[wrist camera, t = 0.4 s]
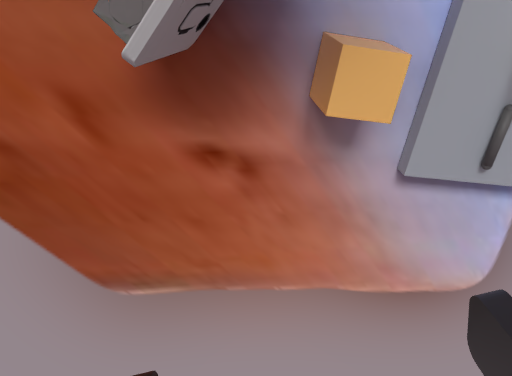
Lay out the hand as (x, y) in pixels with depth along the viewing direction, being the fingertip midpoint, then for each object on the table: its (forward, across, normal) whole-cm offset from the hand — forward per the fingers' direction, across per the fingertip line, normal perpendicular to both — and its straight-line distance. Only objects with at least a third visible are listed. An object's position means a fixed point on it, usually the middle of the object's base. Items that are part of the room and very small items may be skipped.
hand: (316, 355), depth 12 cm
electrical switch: (+27, +1, -7) cm, 28 cm away
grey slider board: (+28, -23, +6) cm, 36 cm away
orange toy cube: (+28, -9, +2) cm, 29 cm away
